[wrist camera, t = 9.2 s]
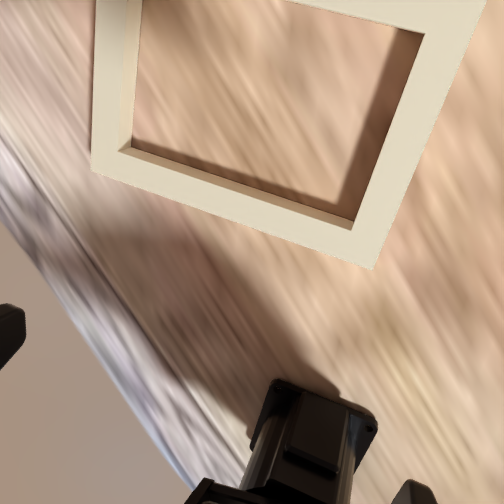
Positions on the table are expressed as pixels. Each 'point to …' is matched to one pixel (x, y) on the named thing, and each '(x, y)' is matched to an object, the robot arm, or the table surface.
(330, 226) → the pocket frame
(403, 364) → the table surface
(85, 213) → the table surface
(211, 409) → the table surface
